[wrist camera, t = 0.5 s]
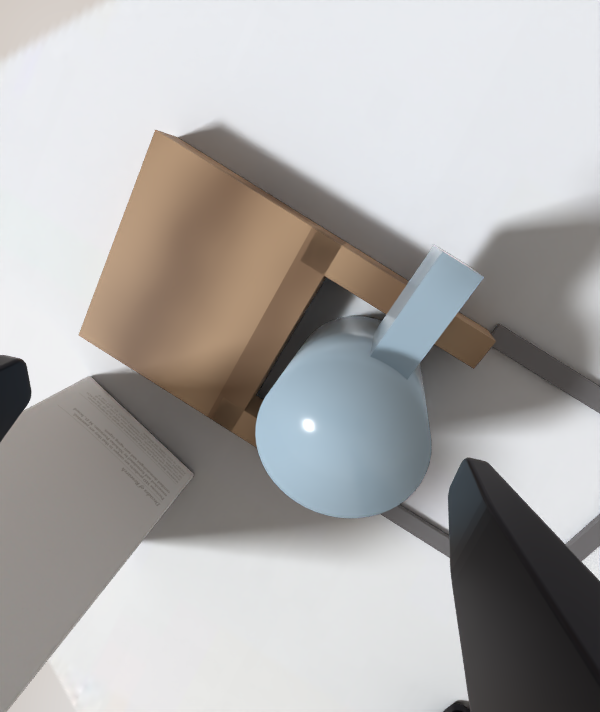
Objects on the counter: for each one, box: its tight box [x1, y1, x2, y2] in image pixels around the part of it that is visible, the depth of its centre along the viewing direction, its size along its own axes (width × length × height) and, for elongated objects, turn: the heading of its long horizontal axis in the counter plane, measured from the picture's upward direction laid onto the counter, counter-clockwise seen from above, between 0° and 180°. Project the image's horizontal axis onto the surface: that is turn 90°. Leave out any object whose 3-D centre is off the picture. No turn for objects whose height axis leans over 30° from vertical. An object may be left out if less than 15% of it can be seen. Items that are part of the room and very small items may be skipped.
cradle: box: [79, 130, 496, 448], centre depth 22 cm, size 17×11×2 cm, turn 61°
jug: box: [255, 244, 484, 518], centre depth 19 cm, size 11×6×7 cm, turn 151°
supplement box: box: [0, 376, 194, 712], centre depth 21 cm, size 9×9×15 cm
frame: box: [381, 324, 600, 561], centre depth 22 cm, size 11×12×1 cm
